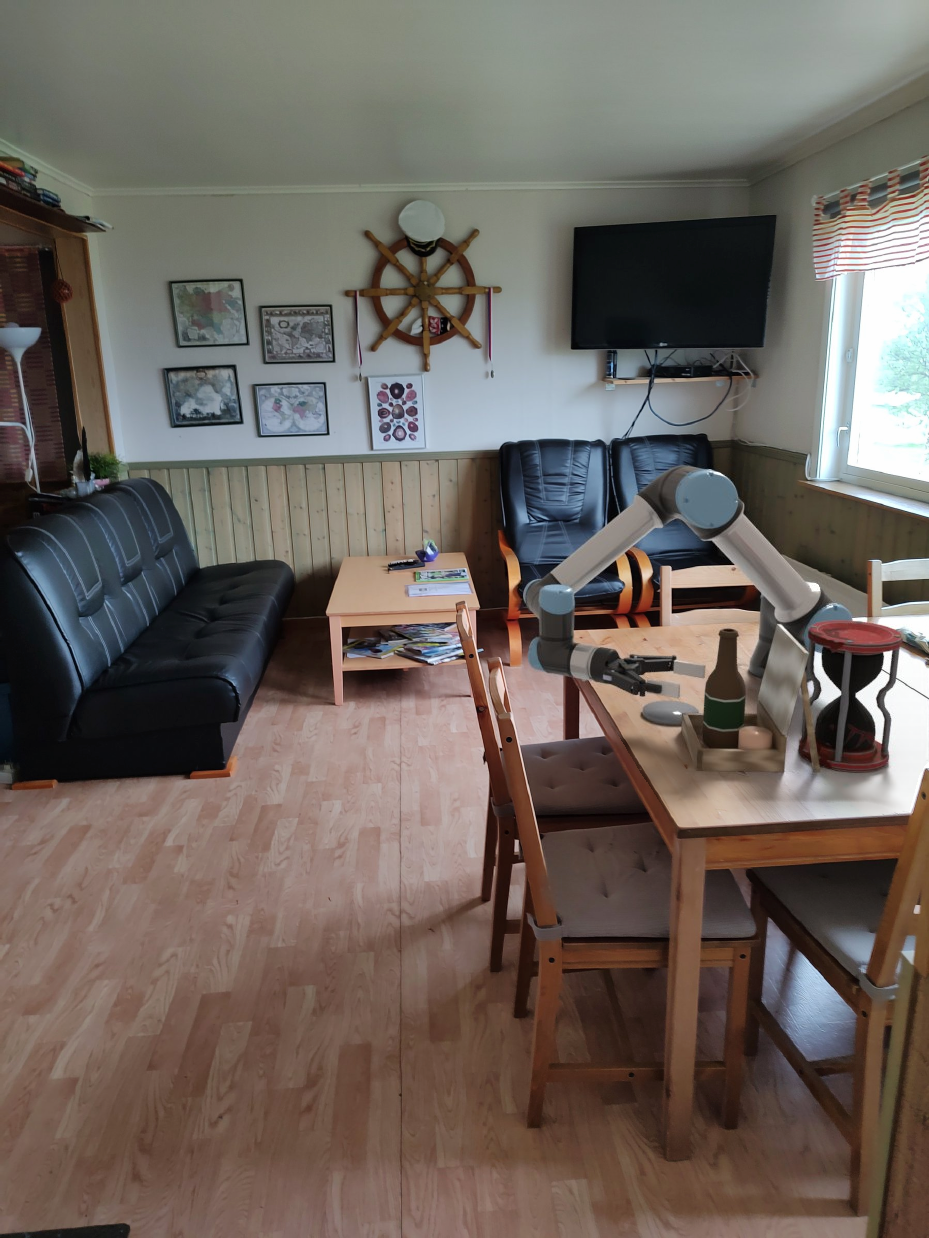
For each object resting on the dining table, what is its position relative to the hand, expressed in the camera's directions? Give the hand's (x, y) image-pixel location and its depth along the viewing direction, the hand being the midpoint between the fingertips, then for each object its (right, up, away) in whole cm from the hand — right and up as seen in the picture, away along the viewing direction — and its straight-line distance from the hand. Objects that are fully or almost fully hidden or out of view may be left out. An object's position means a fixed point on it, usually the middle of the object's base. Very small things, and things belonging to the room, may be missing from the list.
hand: (692, 681), depth 170 cm
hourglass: (+28, -14, -5) cm, 32 cm away
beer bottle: (+6, -13, +1) cm, 15 cm away
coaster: (0, -9, +17) cm, 19 cm away
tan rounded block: (+10, -15, -6) cm, 19 cm away
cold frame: (+10, -14, -1) cm, 18 cm away
